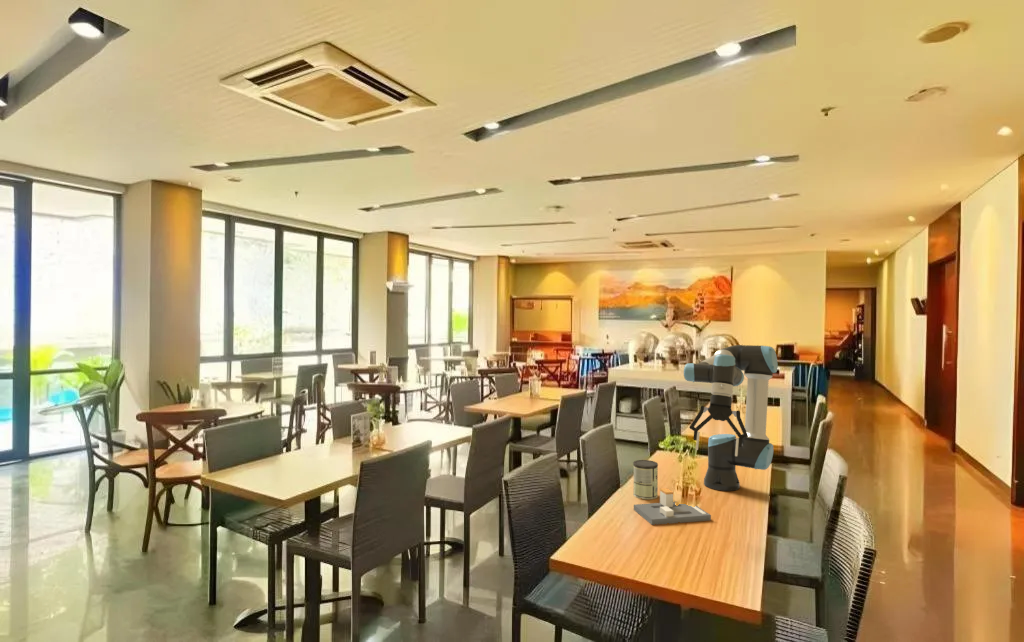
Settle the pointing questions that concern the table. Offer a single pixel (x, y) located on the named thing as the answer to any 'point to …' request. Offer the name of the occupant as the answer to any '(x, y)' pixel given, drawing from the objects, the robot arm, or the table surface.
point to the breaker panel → (674, 519)
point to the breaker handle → (666, 497)
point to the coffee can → (645, 479)
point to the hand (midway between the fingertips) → (716, 453)
